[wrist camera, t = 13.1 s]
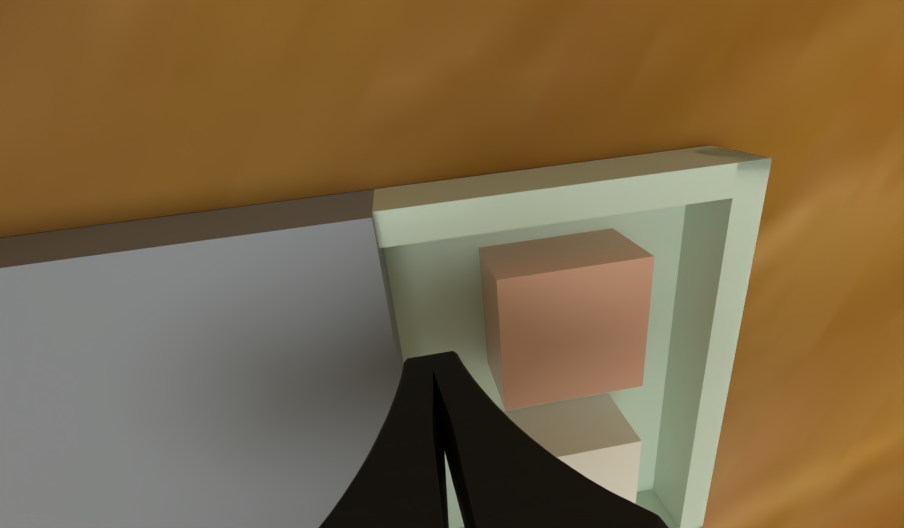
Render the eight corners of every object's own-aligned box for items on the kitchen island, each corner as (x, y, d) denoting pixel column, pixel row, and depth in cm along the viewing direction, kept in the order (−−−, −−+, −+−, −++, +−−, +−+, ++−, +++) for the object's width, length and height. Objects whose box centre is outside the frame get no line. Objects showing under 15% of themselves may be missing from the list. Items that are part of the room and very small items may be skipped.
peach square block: (504, 410, 14) (487, 362, 16) (642, 386, 14) (606, 342, 16) (496, 280, 12) (478, 247, 14) (654, 256, 12) (612, 228, 15)
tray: (665, 490, 21) (699, 541, 19) (434, 537, 20) (440, 596, 18) (710, 145, 14) (771, 158, 12) (374, 189, 14) (372, 211, 11)
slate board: (434, 537, 20) (442, 610, 17) (56, 613, 19) (-2, 706, 16) (374, 189, 14) (371, 217, 11) (-211, 265, 12) (-385, 320, 9)
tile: (518, 553, 16) (502, 495, 19) (633, 529, 17) (603, 475, 19) (512, 465, 15) (495, 413, 17) (641, 441, 15) (607, 393, 17)
